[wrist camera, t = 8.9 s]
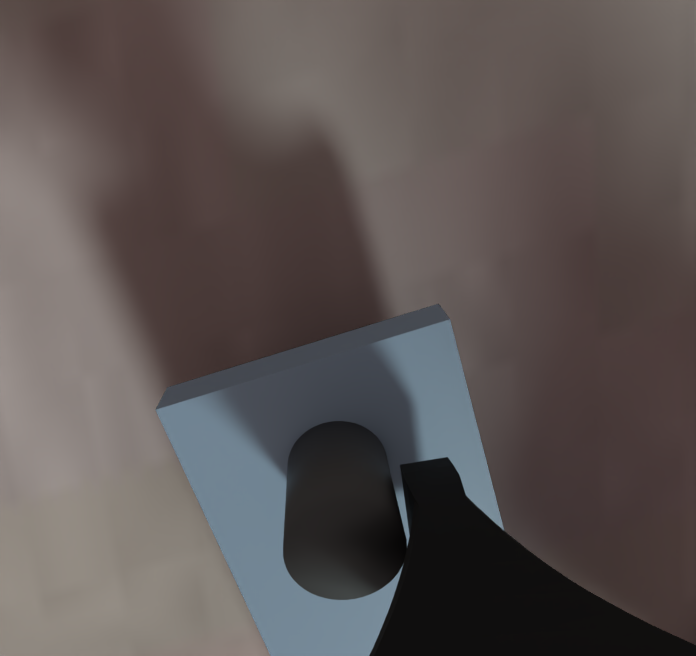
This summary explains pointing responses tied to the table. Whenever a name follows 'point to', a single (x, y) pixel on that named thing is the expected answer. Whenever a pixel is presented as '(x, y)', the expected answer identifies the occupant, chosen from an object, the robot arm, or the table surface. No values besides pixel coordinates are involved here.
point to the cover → (326, 471)
